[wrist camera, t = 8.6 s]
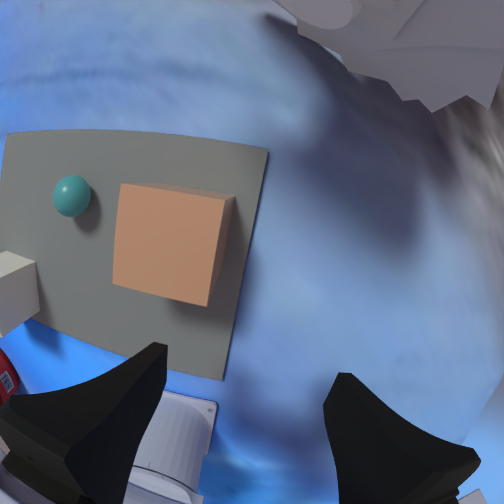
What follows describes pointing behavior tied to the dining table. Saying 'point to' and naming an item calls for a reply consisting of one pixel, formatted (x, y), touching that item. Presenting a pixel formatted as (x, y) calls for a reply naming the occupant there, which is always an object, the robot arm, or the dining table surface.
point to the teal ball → (71, 196)
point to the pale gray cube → (17, 291)
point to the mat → (103, 236)
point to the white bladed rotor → (413, 43)
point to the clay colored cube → (170, 240)
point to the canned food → (7, 378)
